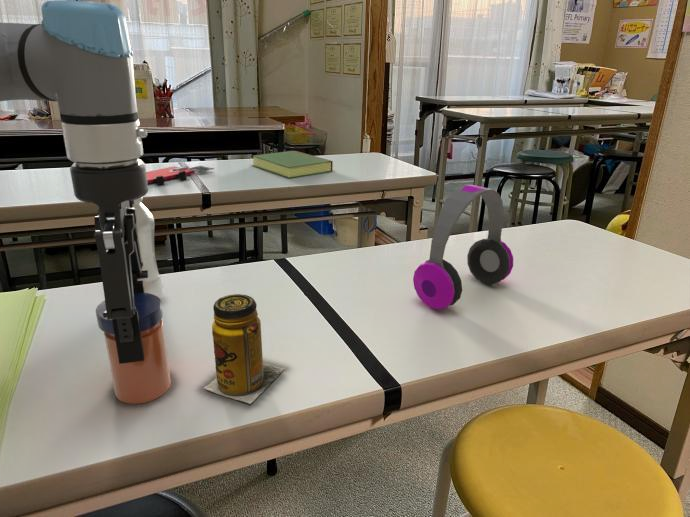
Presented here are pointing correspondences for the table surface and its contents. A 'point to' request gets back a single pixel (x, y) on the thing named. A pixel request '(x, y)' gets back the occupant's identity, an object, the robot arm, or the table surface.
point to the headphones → (483, 257)
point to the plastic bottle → (147, 249)
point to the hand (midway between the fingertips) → (135, 342)
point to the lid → (147, 312)
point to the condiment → (239, 350)
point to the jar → (141, 368)
